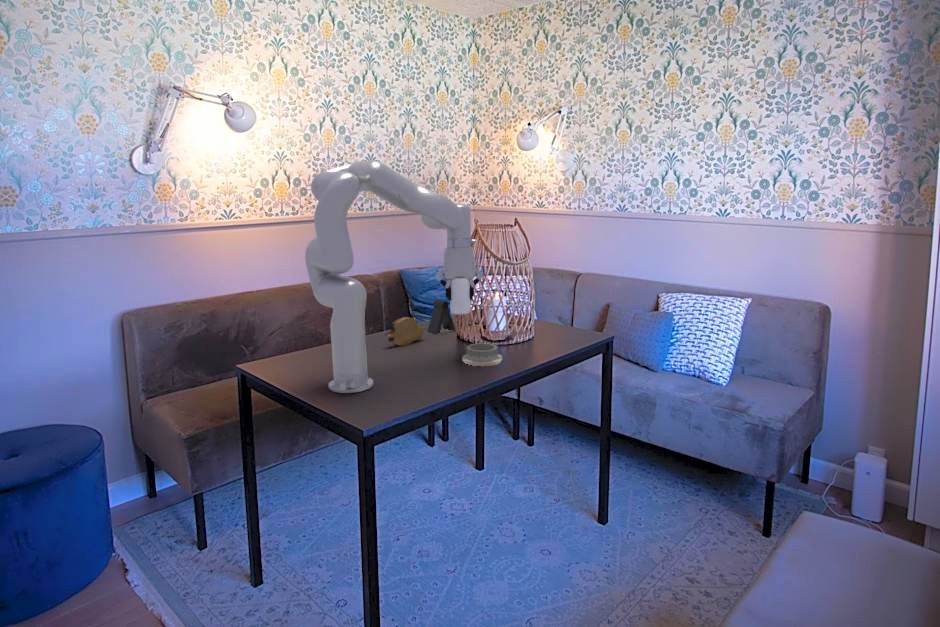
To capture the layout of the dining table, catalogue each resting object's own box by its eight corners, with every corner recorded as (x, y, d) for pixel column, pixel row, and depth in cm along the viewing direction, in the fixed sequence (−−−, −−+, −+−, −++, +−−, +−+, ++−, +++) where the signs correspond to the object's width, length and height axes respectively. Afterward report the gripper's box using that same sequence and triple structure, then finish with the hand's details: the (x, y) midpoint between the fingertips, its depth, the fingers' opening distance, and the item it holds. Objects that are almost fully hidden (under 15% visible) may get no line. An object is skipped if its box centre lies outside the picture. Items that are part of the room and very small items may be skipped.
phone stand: (447, 328, 249) (446, 297, 247) (455, 330, 244) (455, 300, 242) (427, 331, 244) (426, 300, 242) (435, 334, 239) (435, 303, 237)
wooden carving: (416, 338, 234) (415, 312, 232) (425, 340, 231) (424, 313, 229) (383, 348, 222) (381, 320, 220) (391, 350, 219) (390, 322, 217)
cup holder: (505, 365, 200) (505, 351, 199) (463, 367, 198) (463, 353, 198) (499, 354, 212) (499, 341, 211) (460, 355, 211) (460, 342, 210)
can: (471, 310, 209) (470, 274, 207) (469, 315, 203) (469, 277, 200) (451, 310, 210) (450, 274, 207) (449, 315, 203) (448, 278, 201)
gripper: (484, 241, 206) (484, 296, 210) (430, 243, 204) (432, 298, 208) (487, 244, 199) (488, 300, 203) (432, 245, 197) (433, 302, 201)
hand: (459, 298), depth 205 cm, fingers closed on can, 6 cm apart
